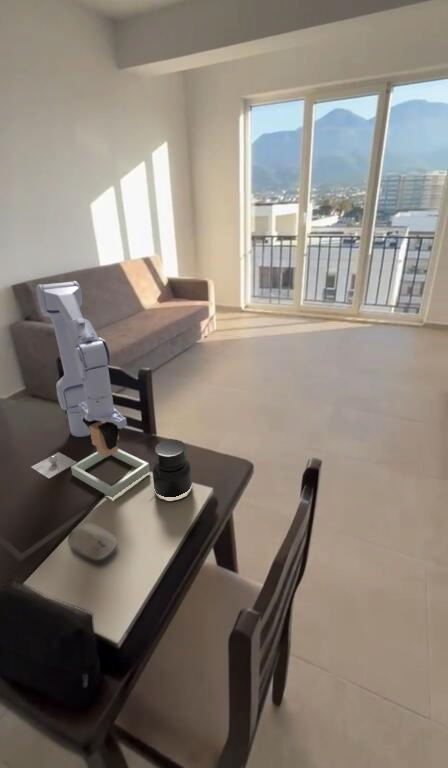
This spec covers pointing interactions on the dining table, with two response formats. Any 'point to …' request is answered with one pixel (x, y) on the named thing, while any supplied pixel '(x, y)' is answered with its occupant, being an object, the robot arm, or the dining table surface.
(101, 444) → the light orange block
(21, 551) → the dining table surface
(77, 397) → the robot arm
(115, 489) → the parts bin
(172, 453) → the ink bottle
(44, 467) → the stud plate
